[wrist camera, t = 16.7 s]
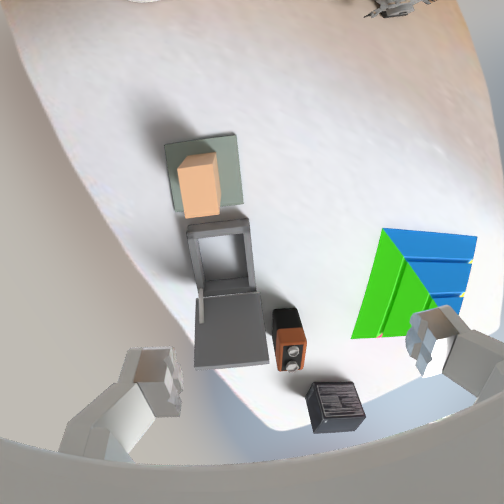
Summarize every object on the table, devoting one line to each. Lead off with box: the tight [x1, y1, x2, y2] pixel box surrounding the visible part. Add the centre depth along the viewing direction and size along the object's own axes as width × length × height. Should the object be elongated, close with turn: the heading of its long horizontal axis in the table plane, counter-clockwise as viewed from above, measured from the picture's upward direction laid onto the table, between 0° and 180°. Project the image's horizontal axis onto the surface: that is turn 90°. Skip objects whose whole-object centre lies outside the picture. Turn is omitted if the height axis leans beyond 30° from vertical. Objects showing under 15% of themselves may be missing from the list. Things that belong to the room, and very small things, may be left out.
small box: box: [305, 382, 366, 434], centre depth 63 cm, size 11×6×10 cm, turn 78°
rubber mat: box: [164, 135, 244, 212], centre depth 44 cm, size 10×10×1 cm
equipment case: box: [186, 218, 269, 370], centre depth 44 cm, size 15×10×15 cm, turn 5°
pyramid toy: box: [351, 228, 477, 339], centre depth 50 cm, size 25×25×14 cm
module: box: [177, 152, 221, 219], centre depth 39 cm, size 6×4×9 cm, turn 5°
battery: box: [272, 308, 307, 373], centre depth 52 cm, size 4×7×10 cm, turn 0°
